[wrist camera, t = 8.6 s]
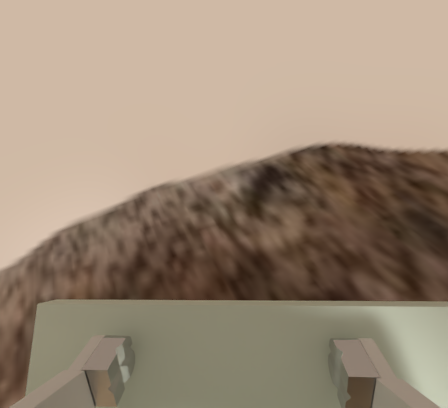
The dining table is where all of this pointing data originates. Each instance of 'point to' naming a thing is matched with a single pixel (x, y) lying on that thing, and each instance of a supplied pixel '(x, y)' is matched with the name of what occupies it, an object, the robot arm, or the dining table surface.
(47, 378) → the tailgate
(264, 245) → the dining table surface
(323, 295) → the dining table surface
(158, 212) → the dining table surface
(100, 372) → the robot arm
